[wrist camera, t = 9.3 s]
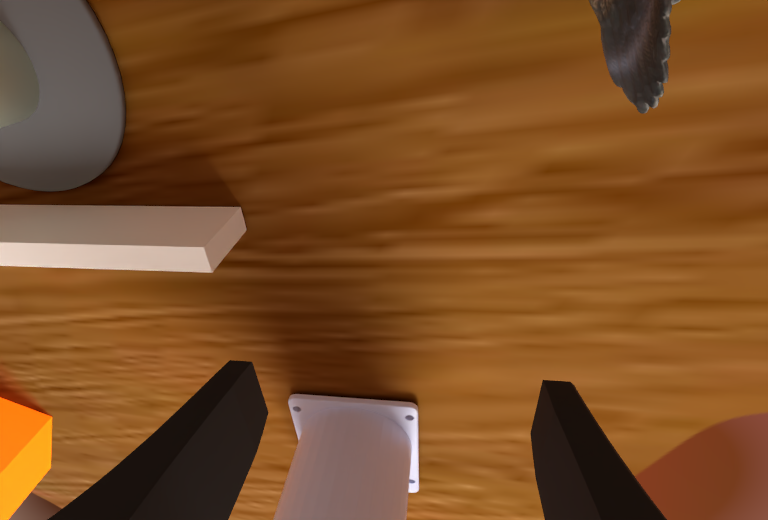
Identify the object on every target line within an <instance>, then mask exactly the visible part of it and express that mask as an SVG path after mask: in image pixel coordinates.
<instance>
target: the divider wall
mask: <svg viewBox="0 0 768 520" xmlns="http://www.w3.org/2000/svg"><path fill="white" fill-rule="evenodd" d="M246 230H247V229H246V225H245V221H244V217H243V214H242V210H241V207H194V206H94V205H0V266H26V267H56V268H87V269H117V270H148V271H178V272H209V273H212V272H213V271H214V270H215V269H216V267H217V266H218V265H219V264H220V262H221V261H222V260H223V259H224V258H225V256H226V255H227V254H228V253H229V251H230V250H231V249H232V248H233V246H234V245H235V244H236V243H237V241H238V240H239V239H240V238H241V237H242V235H243V234H244V233H245V232H246Z"/></svg>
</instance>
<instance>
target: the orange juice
mask: <svg viewBox="0 0 768 520" xmlns="http://www.w3.org/2000/svg"><path fill="white" fill-rule="evenodd" d="M51 440H52V417H51V416H49V415H46V414H43V413H41V412H38V411H35V410H33V409H30V408H27V407H25V406H22V405H19V404H17V403H14V402H11V401H9V400H6V399H3V398H1V397H0V520H8V519H9V518H10V517H11V516H12V514H13V513H14V512H15V511H16V509H17V508H18V507H19V506H20V505H21V503H22V502H23V501H24V499H25V498H26V497H27V496H28V495H29V493H30V492H31V491H32V490H33V489H34V487H35V486H36V485H37V484H38V483H39V481H40V480H41V479H42V478H43V476H44V475H45V474H46V473H47V472H48V470H49V469H50V468H51Z"/></svg>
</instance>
